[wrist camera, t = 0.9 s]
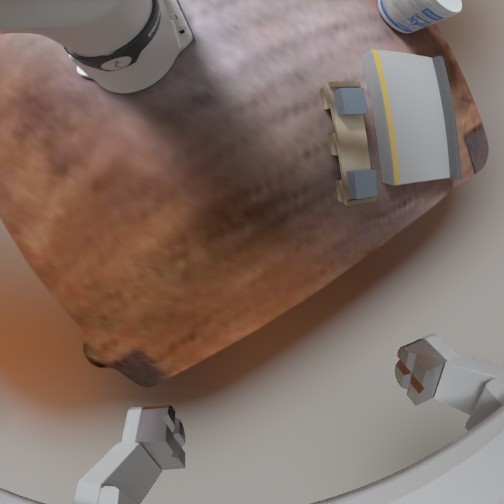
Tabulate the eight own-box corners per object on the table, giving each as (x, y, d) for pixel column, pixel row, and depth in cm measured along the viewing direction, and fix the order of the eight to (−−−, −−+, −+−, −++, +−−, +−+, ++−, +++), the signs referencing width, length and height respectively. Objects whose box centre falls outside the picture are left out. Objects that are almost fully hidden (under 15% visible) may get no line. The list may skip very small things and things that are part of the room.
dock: (360, 55, 39) (378, 45, 33) (423, 62, 40) (442, 56, 35) (381, 182, 47) (401, 187, 41) (440, 174, 48) (460, 178, 42)
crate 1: (333, 90, 38) (340, 87, 35) (355, 90, 38) (362, 87, 36) (338, 116, 39) (345, 114, 37) (359, 114, 39) (367, 113, 37)
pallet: (319, 87, 40) (330, 81, 36) (347, 86, 41) (360, 81, 37) (337, 201, 47) (349, 206, 43) (363, 197, 47) (377, 201, 43)
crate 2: (346, 171, 42) (354, 172, 39) (367, 168, 42) (375, 169, 40) (349, 196, 43) (356, 199, 41) (370, 193, 43) (378, 195, 41)
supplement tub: (393, 38, 38) (442, 15, 24) (366, -2, 35) (409, -34, 21) (423, 30, 38) (471, 12, 24) (399, -7, 35) (441, -33, 21)
